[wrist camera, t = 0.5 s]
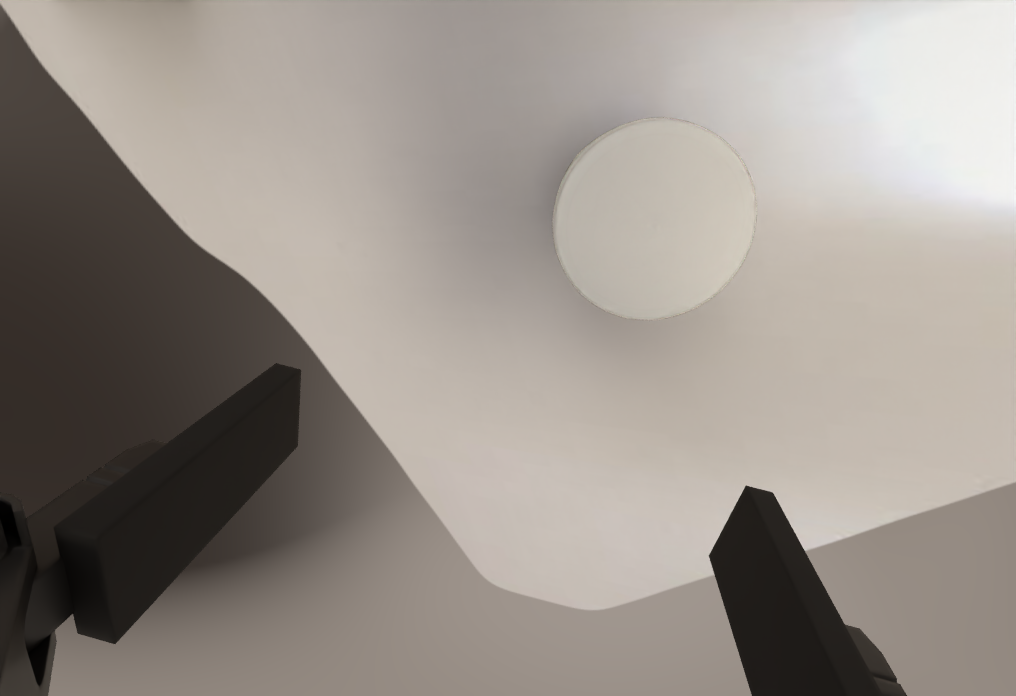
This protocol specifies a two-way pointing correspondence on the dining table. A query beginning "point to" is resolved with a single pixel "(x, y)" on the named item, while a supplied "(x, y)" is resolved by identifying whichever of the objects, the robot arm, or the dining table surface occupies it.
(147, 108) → the dining table surface
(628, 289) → the supplement tub
